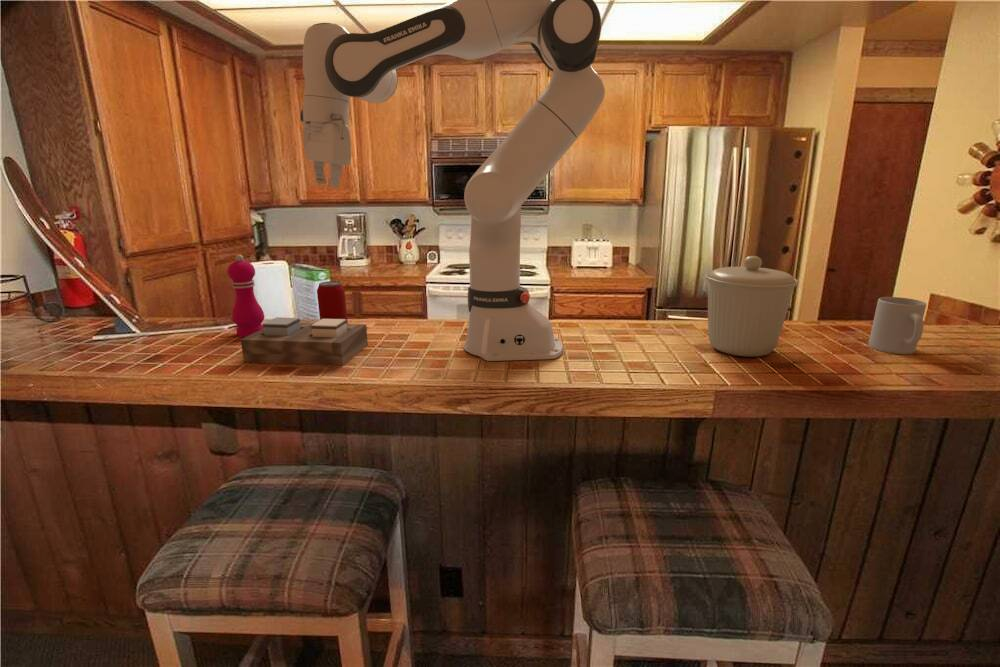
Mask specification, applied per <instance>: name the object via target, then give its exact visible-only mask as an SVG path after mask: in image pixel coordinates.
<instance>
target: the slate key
mask: <svg viewBox="0 0 1000 667" xmlns="http://www.w3.org/2000/svg"><path fill="white" fill-rule="evenodd" d="M300 320H301V319H300V317H284V316H283V317H278V316H277V317H274V318H272V319H270V320H268V321H266V322H264V323H263V322H262V325H263V327H264V334H265V335H272V336H291V335H292V334H294V333H296V332H298V331H299V330H301V329H300V323H301V321H300Z"/></svg>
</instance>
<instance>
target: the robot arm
mask: <svg viewBox="0 0 1000 667" xmlns="http://www.w3.org/2000/svg"><path fill="white" fill-rule="evenodd" d="M601 33H602V17H601V12H600V9H599V6H598V5H597V3H596V2H595V0H452V1H449V2H448V3H444V4H443V5H441V6H439V7H437V8H435V9H433V10H430V11H427V12H424V13H421V14H419V15H416V16H413V17H411V18H408V19H406V20H403V21H401V22H399V23H395V24H394V25H391V26H389V27H386V28H383V29H381V30H378V31H376V32H368V33H359V32H349V31H348V30H347V29H346V28H345V27H344V26H343V25H341V24H338V23H332V22H320V23H315V24H313V25H311V26H309V27H308V28H307V29H306V32H305V34H304V39H303V47H302V75H303V78H304V89H303V93H302V94H303V96H302V99H303V100H302V101H303V104H302V109H301V110H300V112H299V121H300V123H301V124H303V125H302V136H303V140H302V141H303V149H304V155H305V158H306V160H308V161H312V169H313V171H314V182H315V184H319V185H325V184H326V175H325V164H329V170H330V172H329V177H328V186H329V187H331V188H340V185H341V184H340V183H341V182H340V180H341V176H342V172H343V166H350V163H351V161H352V143H351V142H352V140H351V130H350V128H349V127H350V99H351V98H352V97H353V98H355V99H356V98H357V99H358V100H361V101H365V102H366V103H371V104H379V103H384V102H386V101H388V100H389V99H391V98H392V97H393V95H394V94H395V93H396V90H397V87H398V72H397V69H400V68H402V67H405V66H407V65H410V64H411V63H415V62H417V61H420V60H422V59H424V58H427V57H430V56H436V55H446V56H452V57H456V58H460V59H463V60H467V61H473V60H477V59H482V58H486V57H488V56H492V55H494V54H497V53H499V52H501V51H504V50H505V49H508V48H511V47H512V46H514V45H517V44H520V43H523V42H529V43H530V45H531V47H532V49H533V50H534V52H535V53H536V54H537V56H538V57H539V58H540V60H541V62H542V63H543V65H544V66H546V68H548V70H550V72H552V77H551V78H550V79H551V80H550V81H549V83H548V85H546V87H545V89H544V90H543V92H542V93H541V94H540V95H539V96H538V97H537V99H536V100H535V101H534V103H533V104H532V105H531V107H530V108H529V109H528V110H527V111H526V112H525V114H524V115H523V116H522V118H521V119H520V120H519V121H518V122H517V124H516V125H515V127H514V128H513V129H512V130H511V131H510V133H509V134H508V135H507V136H506V137H505V138H504V139H503V140H502V141H501V142H500V143H499V145H498V146H497V147H496V148H495V149H494V151H492V153H491V154H490V155H489V156H488V157H487V158H486V160H484V162H483V163H482V164H481V165H480V166H479V168H477V170H476V171H475V172H474V173H473V175H472V176H471V177H470V179H468V181H467V182H466V184H465V188H464V192H463V193H464V194H463V195H464V196H463V200H464V205H465V208H466V210H467V211H468V214H469V215H470V218H471V221H470V236H469V237H470V238H469V239H470V240H469V248H468V257H469V258H468V259H469V261H468V263H469V287H468V288H467V308H468V312H469V318H468V327H467V334H466V339H465V343H464V346H463V348H464V350H465V352H467V353H469V354H471V355H474V356H478V357H480V358H482V359H483V360H485V361H488V362H493V361H494V362H496V361H497V362H498V361H500V362H501V361H529V360H554V359H557V358H559V357H560V356H561V355H562V354H563V352H564V345H563V342H562V341H561V339H560V338H558V337H556V336H555V334H554V330H553V326H552V323H551V321H550V319H549V318H548V317H547V316H545V314H543V313H542V312H540V311H539V310H538V309H537V308H535V307H534V306H532V305H531V304H530V303H529V302H530V298H531V295H530V291H529V289H528V288H524V287H523V286H521V285H520V284H521V267H520V266H521V230H522V229H521V220H522V205H523V204H524V203H525V202H526V200H528V198H529V197H530V196H531V195H532V194H533V192H534V191H535V189H536V188H537V187H538V186H539V185H540V184H541V183H542V182H543V180H544V178H546V177H547V175H548V174H549V173H550V172H551V170H553V168H554V167H555V166H556V164H558V162H559V161H560V160H561V159H562V158H563V156H564V155H565V154H566V153H567V152H568V151H569V149H570V148H571V147H572V145H574V143H575V142H576V141H577V139H579V137H580V136H581V135H582V133H583V132H584V131H585V130H586V128H587V127H588V125H589V124H590V123H591V122H592V120H593V118H594V117H595V115H596V113H597V112H598V110H599V108H600V107H601V105H602V103H603V101H604V98H605V96H606V95H605V91H606V90H605V85H604V83H603V80H602V79H601V77H600V75H599V74H598V73H597V71H595V70H594V69H593V66H592V64H593V63H594V62H595V60H596V55H597V51H598V46H599V43H600V42H599V41H600V39H601Z"/></svg>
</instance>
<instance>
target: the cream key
mask: <svg viewBox="0 0 1000 667" xmlns="http://www.w3.org/2000/svg"><path fill="white" fill-rule="evenodd" d="M347 322H348V320H347V321H346V319H321V320H320V319H319V320H318V321H316V322H313V323H314V324H313V325H311V329H312V334H313V337H337V338H339V337H340V336H342V335H343V334H345V333H346V332H347V324H346V323H347Z"/></svg>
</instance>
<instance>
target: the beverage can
mask: <svg viewBox="0 0 1000 667" xmlns="http://www.w3.org/2000/svg"><path fill="white" fill-rule="evenodd" d="M318 283H319V284H318V287H317V288H316V289H317V290H316V294H317V304H318V305H317V306H318V313H319V321H320V320H321V319H346V321H347V323H346V324H349V323H348V312H347V302H346V293H345V287H344V286H343V284H342V282H341V281H337V280H335V281H334V280H331V281H330V280H328V281H322V282H321V281H320V282H318Z"/></svg>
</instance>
